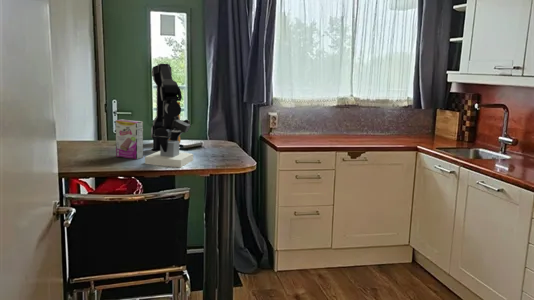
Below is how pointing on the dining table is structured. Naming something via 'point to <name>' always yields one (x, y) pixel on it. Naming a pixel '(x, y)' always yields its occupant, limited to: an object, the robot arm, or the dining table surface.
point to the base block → (169, 159)
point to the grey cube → (170, 149)
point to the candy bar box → (129, 139)
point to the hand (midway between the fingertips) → (169, 150)
